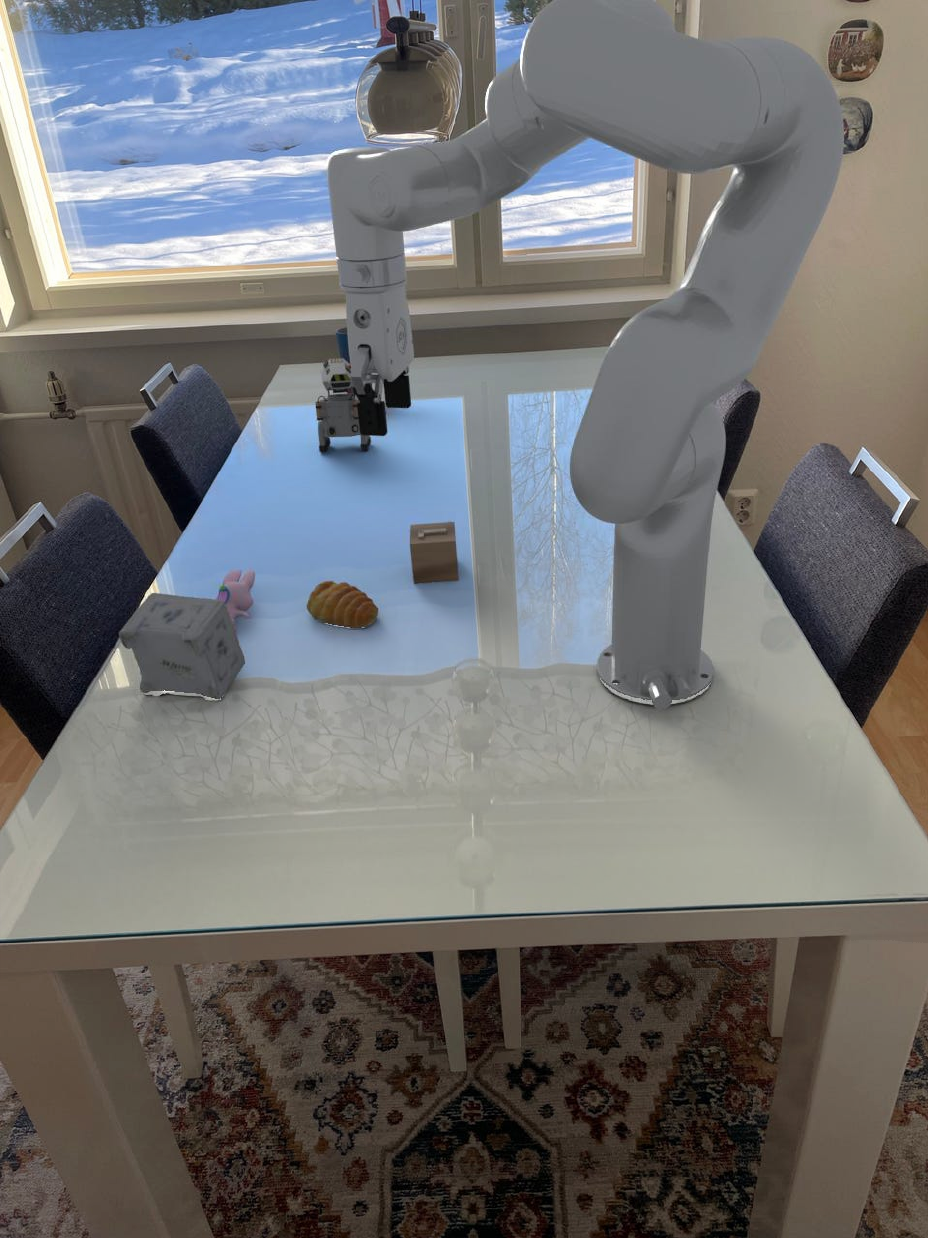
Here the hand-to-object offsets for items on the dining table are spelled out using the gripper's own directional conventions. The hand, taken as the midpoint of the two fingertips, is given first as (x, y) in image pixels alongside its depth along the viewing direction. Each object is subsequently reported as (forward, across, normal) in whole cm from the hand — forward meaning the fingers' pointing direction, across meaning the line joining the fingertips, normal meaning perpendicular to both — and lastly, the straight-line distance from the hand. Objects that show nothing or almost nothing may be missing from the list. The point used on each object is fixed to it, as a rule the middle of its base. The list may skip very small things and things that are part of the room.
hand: (386, 420), depth 113 cm
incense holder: (+23, -26, +17) cm, 39 cm away
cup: (+24, +76, +32) cm, 86 cm away
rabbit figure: (+23, -10, +20) cm, 32 cm away
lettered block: (+23, +5, -3) cm, 24 cm away
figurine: (+24, +51, +26) cm, 62 cm away
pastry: (+23, -8, +6) cm, 25 cm away
